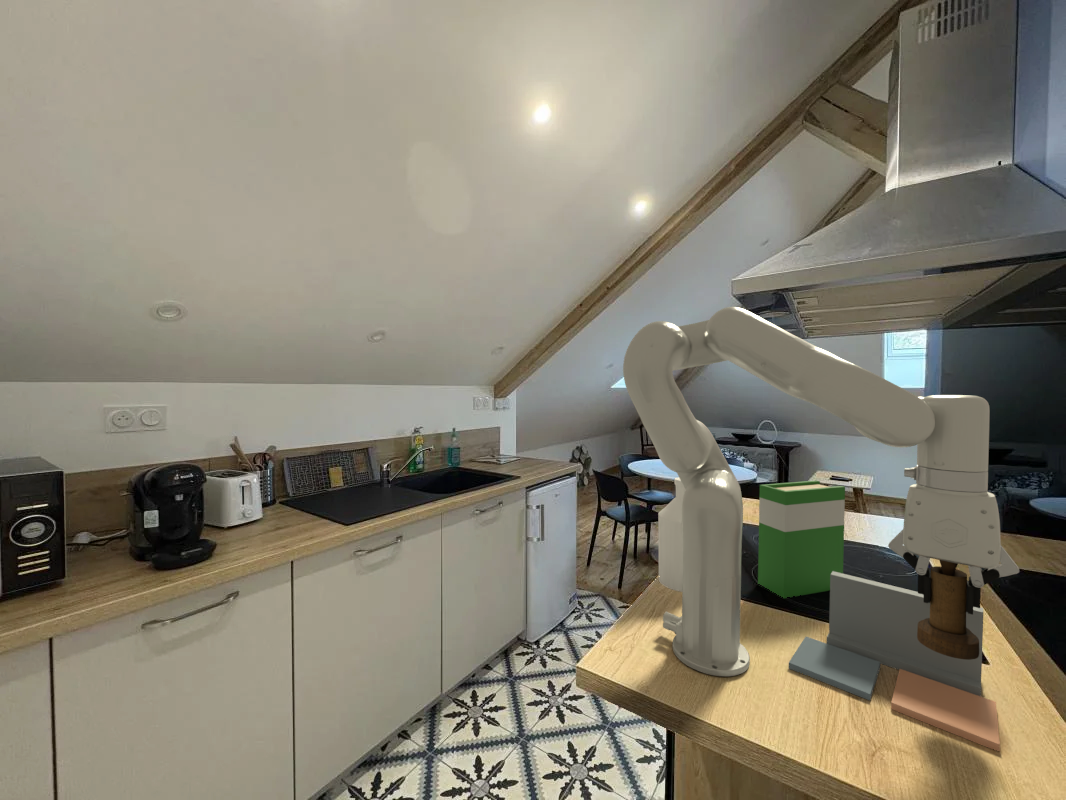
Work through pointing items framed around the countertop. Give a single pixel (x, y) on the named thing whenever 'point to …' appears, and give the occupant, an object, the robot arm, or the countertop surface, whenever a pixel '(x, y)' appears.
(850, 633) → the upright grey panel
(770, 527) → the hardback book
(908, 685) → the tile terracotta
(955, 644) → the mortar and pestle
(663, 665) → the countertop surface
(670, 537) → the bottle
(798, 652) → the mat bluegrey
